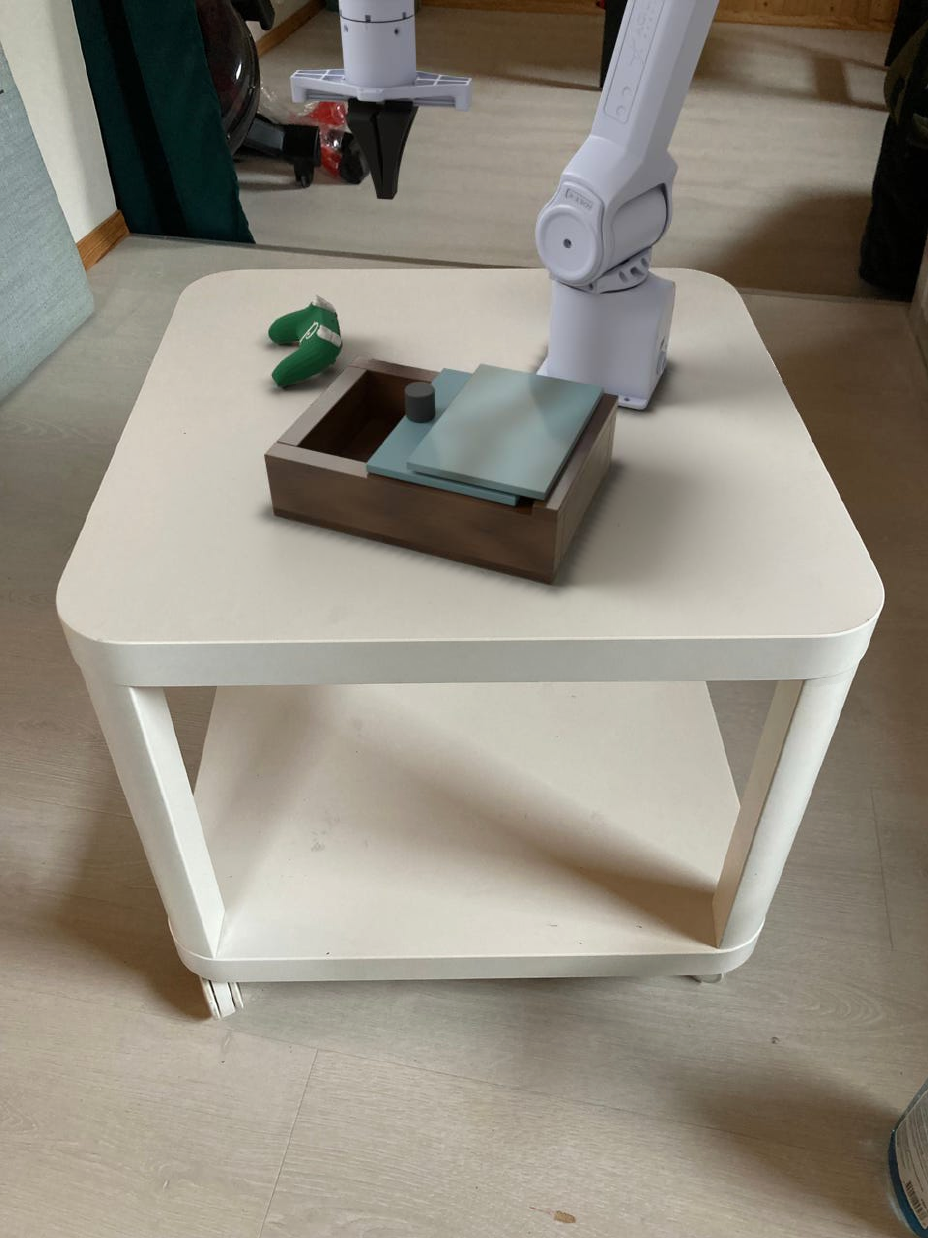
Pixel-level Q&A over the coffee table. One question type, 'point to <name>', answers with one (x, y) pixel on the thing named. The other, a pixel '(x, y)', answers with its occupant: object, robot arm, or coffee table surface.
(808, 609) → the coffee table surface
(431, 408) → the sliding lid with knob
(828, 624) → the coffee table surface
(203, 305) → the coffee table surface
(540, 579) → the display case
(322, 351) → the green and white boots
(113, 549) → the coffee table surface
